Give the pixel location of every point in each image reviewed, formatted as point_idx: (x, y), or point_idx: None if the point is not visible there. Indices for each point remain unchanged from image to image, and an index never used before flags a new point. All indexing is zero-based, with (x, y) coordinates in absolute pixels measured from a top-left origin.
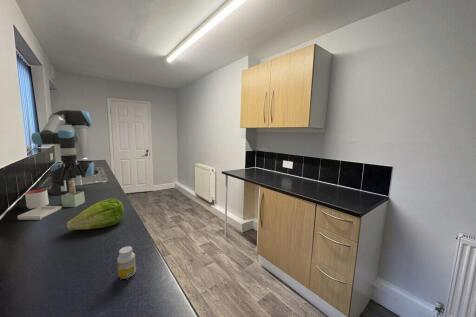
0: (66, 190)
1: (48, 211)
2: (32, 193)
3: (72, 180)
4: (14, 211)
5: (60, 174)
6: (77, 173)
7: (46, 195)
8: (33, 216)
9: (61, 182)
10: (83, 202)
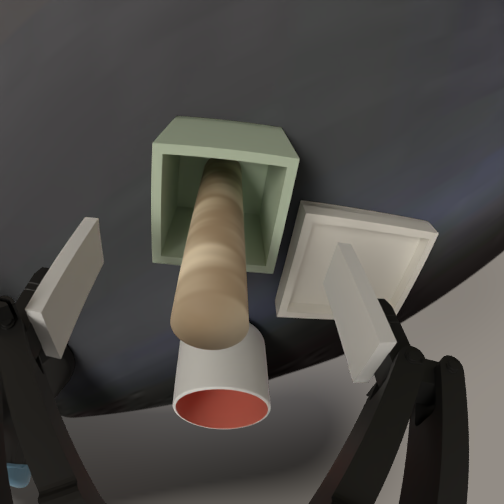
0: (341, 244)
1: (388, 231)
2: (203, 411)
3: (204, 316)
4: (275, 371)
5: (464, 437)
6: (42, 377)
7: (212, 361)
8: (422, 260)
9: (404, 341)
10: (191, 119)
